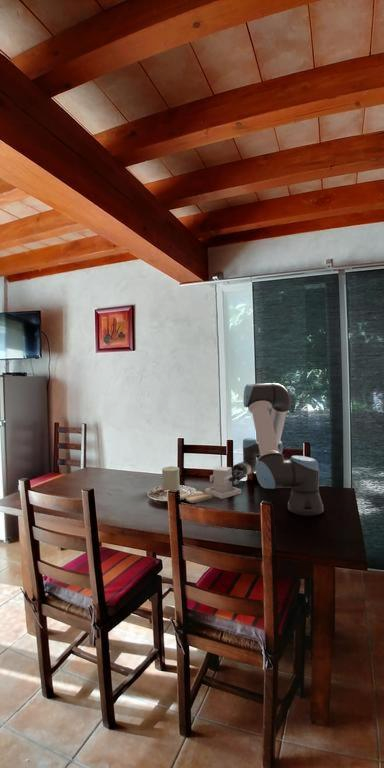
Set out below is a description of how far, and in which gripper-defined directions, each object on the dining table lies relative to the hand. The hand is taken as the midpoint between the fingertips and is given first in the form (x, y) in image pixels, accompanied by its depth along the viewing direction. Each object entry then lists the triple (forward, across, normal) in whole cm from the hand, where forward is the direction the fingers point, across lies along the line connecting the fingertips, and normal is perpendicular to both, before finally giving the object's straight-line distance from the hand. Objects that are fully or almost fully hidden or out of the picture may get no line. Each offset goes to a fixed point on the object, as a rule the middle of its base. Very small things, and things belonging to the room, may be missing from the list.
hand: (217, 479), depth 198 cm
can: (+6, +26, -8) cm, 28 cm away
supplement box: (-5, 0, -8) cm, 9 cm away
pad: (+9, +8, -8) cm, 14 cm away
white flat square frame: (-5, 0, -8) cm, 9 cm away
